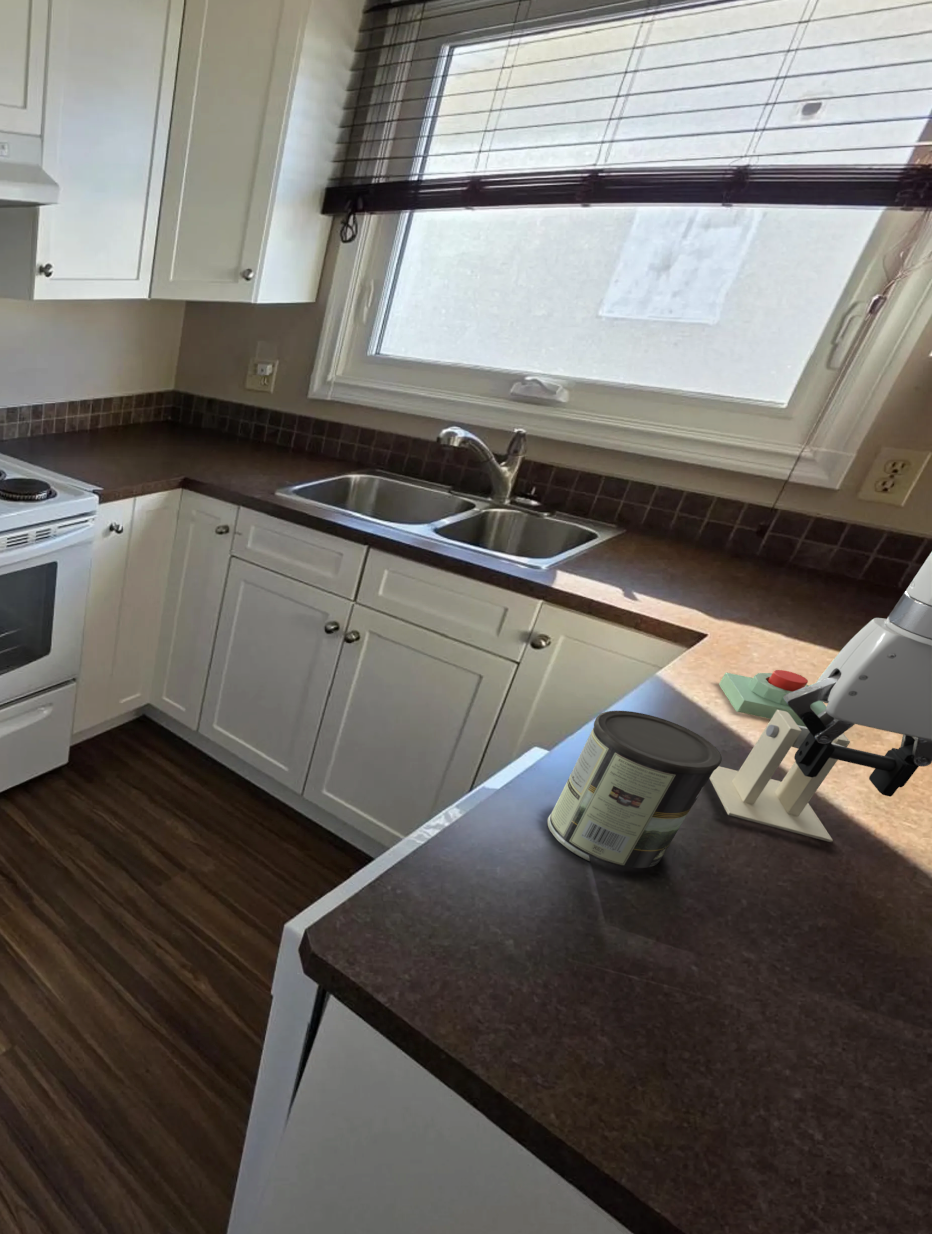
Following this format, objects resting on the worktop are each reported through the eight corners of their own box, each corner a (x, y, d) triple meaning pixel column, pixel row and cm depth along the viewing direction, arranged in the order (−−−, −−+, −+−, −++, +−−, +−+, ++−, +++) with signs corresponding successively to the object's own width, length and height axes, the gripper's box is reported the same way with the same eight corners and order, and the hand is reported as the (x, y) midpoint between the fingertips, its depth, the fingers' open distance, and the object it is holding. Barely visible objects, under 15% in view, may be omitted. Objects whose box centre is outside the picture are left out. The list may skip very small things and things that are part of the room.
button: (796, 684, 111) (802, 673, 110) (805, 696, 108) (812, 685, 107) (763, 677, 112) (770, 667, 112) (772, 689, 110) (778, 678, 109)
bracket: (827, 848, 86) (890, 763, 81) (724, 820, 90) (777, 737, 84) (791, 792, 95) (845, 712, 89) (699, 769, 98) (745, 691, 93)
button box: (805, 702, 114) (819, 679, 112) (829, 733, 106) (845, 709, 105) (718, 684, 118) (731, 661, 116) (736, 713, 111) (750, 689, 109)
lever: (890, 777, 77) (899, 754, 77) (823, 761, 79) (832, 739, 79) (822, 752, 88) (830, 732, 88) (765, 739, 90) (773, 719, 90)
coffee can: (638, 823, 89) (696, 722, 82) (674, 886, 80) (742, 778, 74) (535, 800, 92) (583, 701, 85) (559, 858, 84) (614, 753, 77)
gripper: (1060, 629, 71) (937, 785, 79) (814, 588, 78) (725, 736, 86) (1117, 665, 65) (977, 829, 73) (845, 617, 72) (746, 772, 80)
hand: (842, 777), depth 80 cm, fingers closed on lever, 5 cm apart
